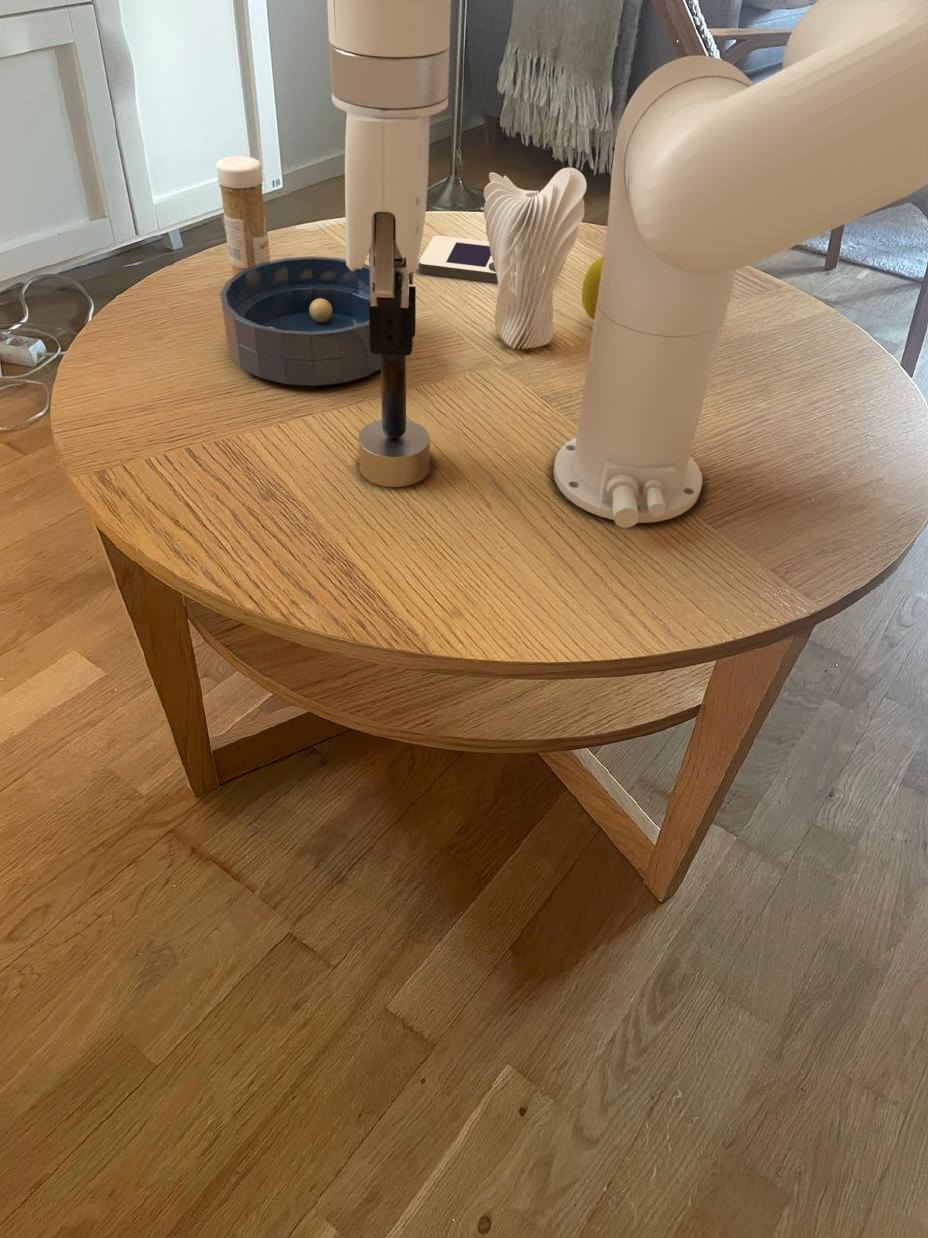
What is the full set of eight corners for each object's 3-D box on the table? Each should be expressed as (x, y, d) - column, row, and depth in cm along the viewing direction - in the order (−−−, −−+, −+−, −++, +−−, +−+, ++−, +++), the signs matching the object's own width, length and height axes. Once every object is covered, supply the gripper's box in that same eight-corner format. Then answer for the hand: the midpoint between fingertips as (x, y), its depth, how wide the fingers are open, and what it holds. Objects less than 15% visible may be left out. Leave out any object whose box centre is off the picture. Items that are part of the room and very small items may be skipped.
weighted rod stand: (426, 489, 77) (430, 293, 65) (355, 485, 77) (346, 288, 65) (431, 449, 82) (435, 259, 70) (364, 445, 82) (356, 254, 70)
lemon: (626, 340, 98) (639, 266, 92) (574, 333, 99) (584, 259, 93) (630, 318, 102) (642, 245, 96) (580, 311, 103) (590, 239, 97)
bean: (331, 327, 96) (330, 305, 94) (308, 325, 96) (306, 303, 94) (334, 316, 97) (333, 294, 96) (312, 315, 97) (310, 293, 96)
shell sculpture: (469, 330, 98) (479, 148, 86) (540, 320, 101) (558, 142, 88) (499, 366, 93) (514, 179, 80) (573, 355, 95) (598, 171, 83)
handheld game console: (434, 244, 114) (434, 233, 114) (553, 258, 113) (554, 247, 112) (417, 272, 108) (417, 261, 107) (543, 289, 106) (544, 277, 105)
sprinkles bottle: (279, 294, 103) (266, 166, 93) (239, 300, 101) (222, 171, 92) (266, 278, 105) (253, 152, 96) (227, 283, 104) (210, 156, 95)
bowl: (391, 397, 88) (390, 339, 83) (211, 387, 88) (201, 328, 83) (406, 316, 100) (406, 261, 96) (248, 306, 100) (241, 251, 96)
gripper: (347, 43, 65) (357, 296, 77) (311, 109, 53) (330, 394, 66) (454, 49, 65) (446, 302, 77) (441, 117, 53) (434, 400, 66)
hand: (393, 342), depth 71 cm, fingers closed on weighted rod stand
